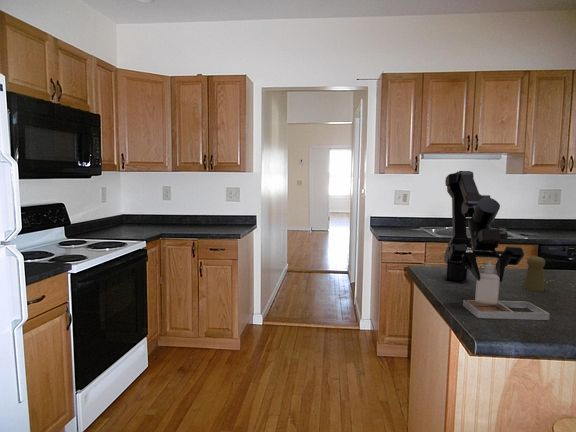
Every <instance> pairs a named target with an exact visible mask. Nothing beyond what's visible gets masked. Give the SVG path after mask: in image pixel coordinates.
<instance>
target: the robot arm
mask: <svg viewBox="0 0 576 432" xmlns="http://www.w3.org/2000/svg"><path fill="white" fill-rule="evenodd" d="M444 184H445V187H446V190H447V191H446V193H448V195H449V196H450V197H451V206H452V207H451V208H452V210H451V213H452V214H451V216H452V217H451V219H452V237H451V239H450V240H449V241H448V243H447V247H446V250H445V253H444V255H443V258H444V259H443V261H444V262H445V264H446V265H447V266H446V276H445V278H444V280H446V281H452V282H456V283H461V284H463V283H464V284H465V283H466V282H467V281H468V280H469V277H470V273H471V274H472V275H473V276H474V278H475V279H476V281H477V280H478V281H479V280H480V273H481V272H480V269H479V266H478V262H477V258H485V259H487V258H488V259H496V262H495V263H496V264H494V267H495V270H496V275H498V276H499V278H500V283H502V282H503V278H504V273H505V269H506V267H508V266H517V265H519V263H520V262H521V260H522V259H523V258H524V256H525V253H524V251H525V250H524V249H523V248H522V247H521V246H506V247H505V248H504V250H497V249H498V248H499V243H500V242H503V241H504V242H505V241H506V240H508V238H509V237H508V236H509V235H508V230H507V228H503V227H500V228H498V229H495V228H491V224H493V223H494V221H495V218H496V217H497V215H498V212H499V211H500V208H501V204H500V203H499V202H498V201H497V200H496V199H494V198H492V197H491V195H489V194H488V195H487V194H485V195H484V194H480V192H479V190H478V189H479V188H478V186H477V185H476V181H475V179H474V172H473V171H471V170H459V171H456V172H454V173H450V174H447V176H446V177H445V183H444ZM467 219H469V220H468V222H467ZM467 223H468V224H467ZM467 225H468V231H469V236H470V238H469V237H468V235H467Z"/></svg>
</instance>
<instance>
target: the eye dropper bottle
mask: <svg viewBox="0 0 576 432" xmlns="http://www.w3.org/2000/svg"><path fill="white" fill-rule="evenodd" d="M483 265H484V267H483V272H479V273H480V280H479V281H478V280H477V279H476V282H475V284H476V285H475V296H474V300H476V302H479V303H484V304H497V303H498V301H499V292H500V283H501V282H500V278H499V276H498V275H497V273H494V272H495V264H493V263H492V260H491V259H488V261H487V263H485V264H483Z"/></svg>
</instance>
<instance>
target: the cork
mask: <svg viewBox="0 0 576 432" xmlns="http://www.w3.org/2000/svg"><path fill="white" fill-rule="evenodd" d="M526 264H527V265H528V267H527V271H526V275H525V279H524V283H523V289H524V290H527V291H531V292H544V291H545V283H544V282H545V281H544V267H545V265H546V259H544V258H543V257H540V256H534V255H533V256H529V257H528V258H527V260H526Z"/></svg>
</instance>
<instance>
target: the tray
mask: <svg viewBox="0 0 576 432" xmlns="http://www.w3.org/2000/svg"><path fill="white" fill-rule="evenodd" d="M462 306H463V307H464V308H465V309H466V310H467V311H468V312H470V313H471V314H472V315H474V316H475V317H476V318H477V319H496V320H497V319H498V320H527V321H528V320H529V321H530V320H531V321H532V320H533V321H534V320H535V321H550V315H551V314H550V313H549V312H548V311H546V310H544V309H542V308H540V307H538V306H537V305H535V304H533V303H532V302H530V301H524V300H523V301H517V300H516V301H515V300H514V301H513V300H498V303H497V304H484V303H479V302H476V300H475V299H463V302H462ZM510 308H511V309H510ZM512 309H527V310H529V312H527V311H513V310H512ZM530 311H531V312H530Z"/></svg>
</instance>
